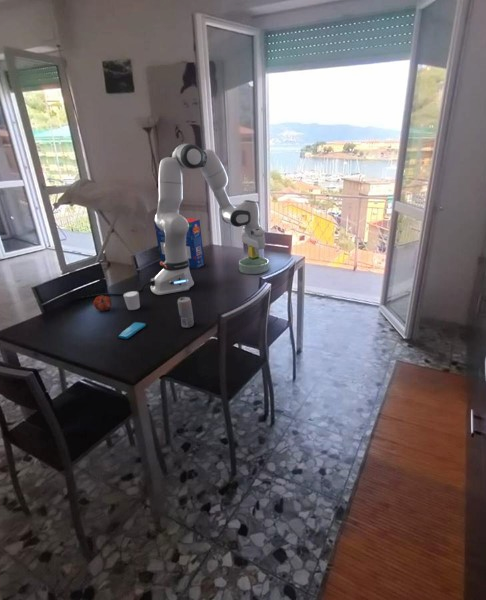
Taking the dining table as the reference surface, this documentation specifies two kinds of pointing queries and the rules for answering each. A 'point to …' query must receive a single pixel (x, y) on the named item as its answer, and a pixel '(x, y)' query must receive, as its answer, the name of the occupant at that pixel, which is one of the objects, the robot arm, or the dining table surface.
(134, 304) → the white cylinder
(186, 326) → the energy drink
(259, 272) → the basin
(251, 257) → the scrub block
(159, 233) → the pasta box
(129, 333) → the sponge
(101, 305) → the pomegranate
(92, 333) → the dining table surface
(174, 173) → the robot arm
